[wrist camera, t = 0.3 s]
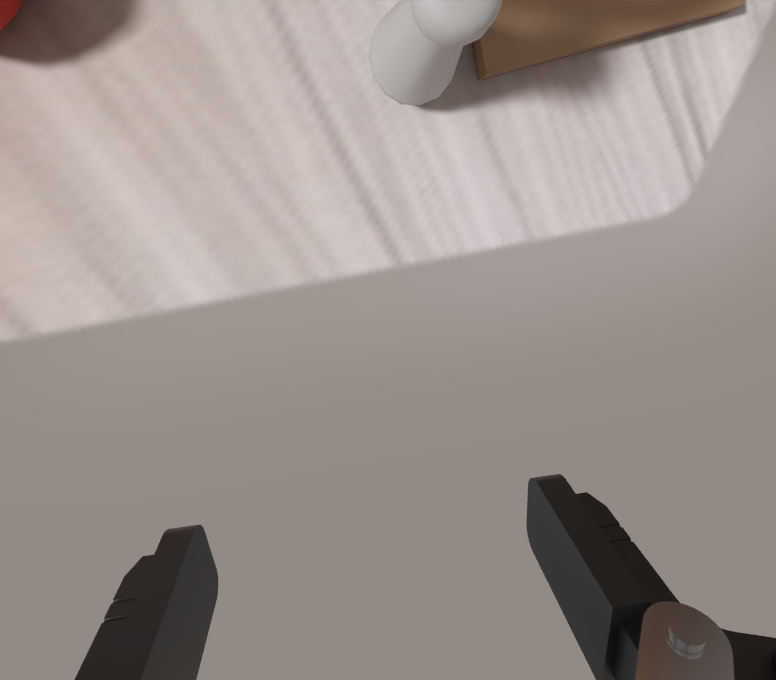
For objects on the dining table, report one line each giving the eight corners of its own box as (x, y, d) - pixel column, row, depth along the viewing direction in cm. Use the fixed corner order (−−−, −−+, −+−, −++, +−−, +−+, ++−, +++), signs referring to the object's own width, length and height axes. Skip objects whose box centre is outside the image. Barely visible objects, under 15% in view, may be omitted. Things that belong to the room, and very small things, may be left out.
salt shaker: (460, 50, 33) (552, -47, 21) (423, 127, 34) (489, 79, 22) (387, 1, 32) (440, -135, 19) (350, 84, 32) (377, 5, 20)
